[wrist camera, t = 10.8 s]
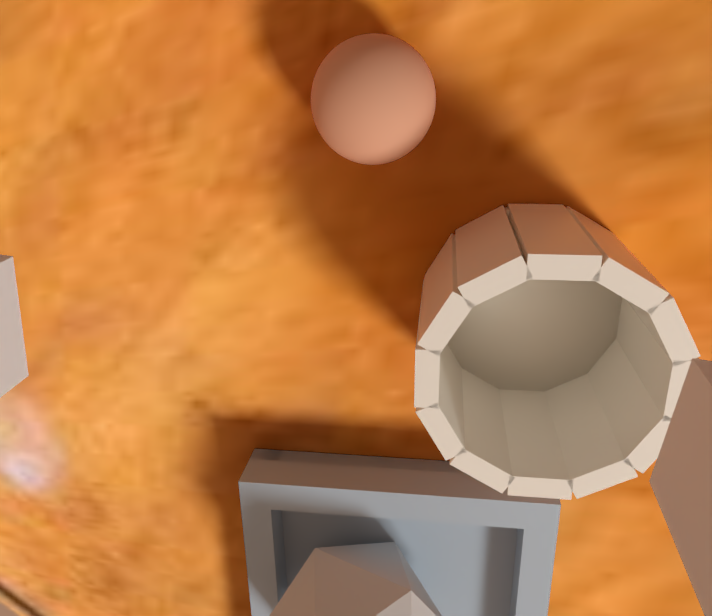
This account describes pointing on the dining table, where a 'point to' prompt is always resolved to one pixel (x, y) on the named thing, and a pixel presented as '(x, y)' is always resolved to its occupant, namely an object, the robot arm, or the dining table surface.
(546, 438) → the cup
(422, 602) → the die
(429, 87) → the ball
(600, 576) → the dining table surface
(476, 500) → the tray
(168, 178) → the dining table surface
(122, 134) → the dining table surface
